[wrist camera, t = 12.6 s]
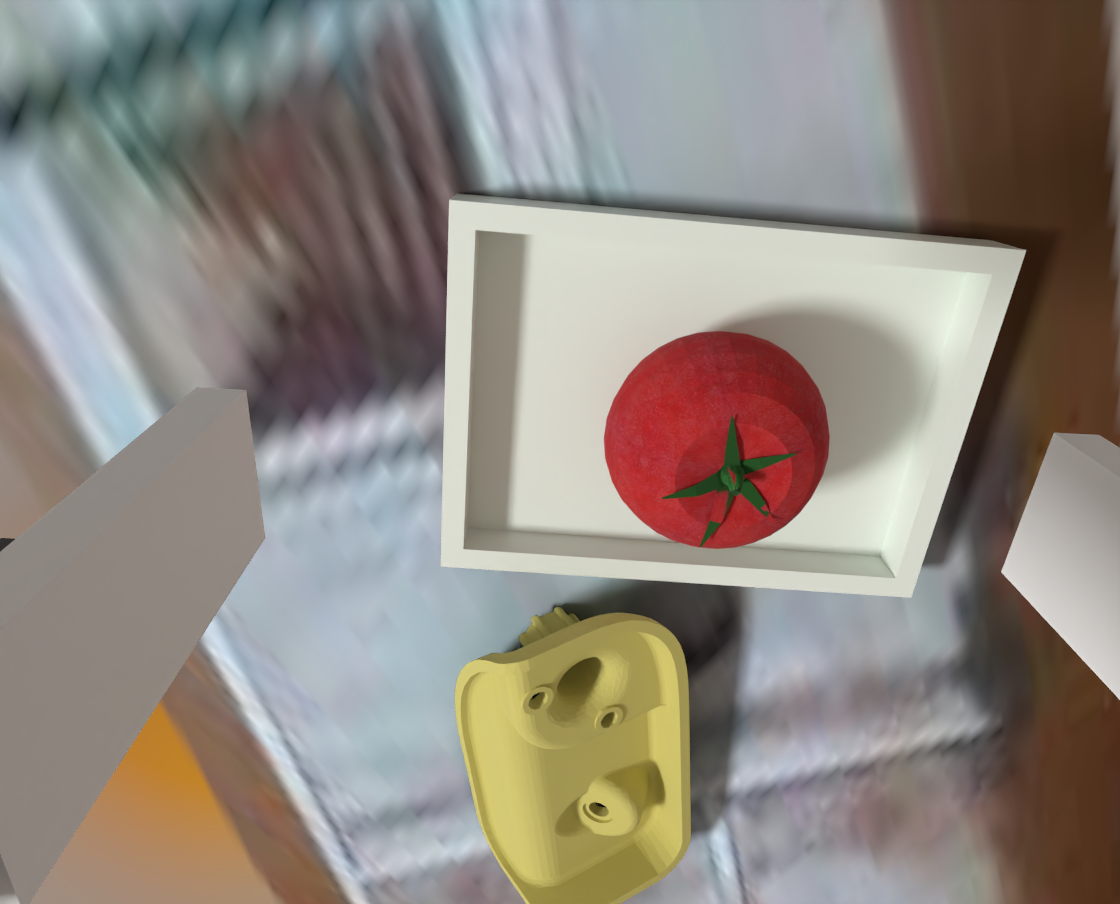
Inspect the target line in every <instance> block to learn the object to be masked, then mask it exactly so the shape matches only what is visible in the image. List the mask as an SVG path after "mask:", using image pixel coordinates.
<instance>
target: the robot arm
mask: <svg viewBox="0 0 1120 904" xmlns="http://www.w3.org/2000/svg"><path fill="white" fill-rule="evenodd" d="M264 539H265V532H264V525H263V517H262V509H261V501H260V494H259V486H258V478H257V471H256V463H255V455H254V447H253V440H252V432H251V424H250V416H249V409H248V401H247V393H246V390H235V389H216V388H196V389H195V390H194V391H192V392H191V393H190V394H189V395H188V396H186V397H185V398H184V399H183V400H182V401H180V402H179V403H178V404H177V405H176V406H174V407H173V408H172V409H171V410H170V411H168V412H167V413H166V414H165V415H164V416H162V417H161V418H160V419H159V420H158V421H156V422H155V423H154V424H153V425H152V426H150V427H149V428H148V429H147V430H146V431H144V432H143V433H142V434H141V435H140V436H138V437H137V438H136V439H135V440H134V441H132V442H131V443H130V444H129V445H128V446H126V447H125V448H124V449H123V450H122V451H120V452H119V453H118V454H117V455H116V456H114V457H113V458H112V459H111V460H110V461H108V462H107V463H106V464H105V465H104V466H102V467H101V468H100V469H99V470H98V471H96V472H95V473H94V474H93V475H92V476H90V477H89V478H88V479H87V480H86V481H84V482H83V483H82V484H81V485H80V486H78V487H77V488H76V489H75V490H74V491H72V492H71V493H70V494H69V495H68V496H66V497H65V498H64V499H63V500H62V501H60V502H59V503H58V504H57V505H56V506H54V507H53V508H52V509H51V510H50V511H48V512H47V513H46V514H45V515H44V516H42V517H41V518H40V519H39V520H38V521H36V522H35V523H34V524H33V525H32V526H30V527H29V528H28V529H27V530H26V531H25V532H23V533H22V534H21V535H20V536H18V537H17V538H16V539H8V538H7V539H6V538H1V539H0V904H29V903H30V902H31V900H32V899H33V897H34V896H35V894H36V893H37V891H38V889H39V888H40V886H41V884H42V883H43V882H44V880H45V879H46V877H47V875H48V874H49V872H50V871H51V869H52V868H53V866H54V864H55V863H56V861H57V860H58V858H59V857H60V855H61V854H62V852H63V851H64V849H65V847H66V846H67V844H68V843H69V841H70V840H71V838H72V837H73V835H74V833H75V832H76V830H77V829H78V827H79V826H80V824H81V823H82V821H83V820H84V818H85V816H86V815H87V813H88V812H89V810H90V809H91V807H92V806H93V804H94V803H95V801H96V799H97V798H98V796H99V794H100V793H101V792H102V790H103V789H104V787H105V785H106V784H107V782H108V781H109V779H110V778H111V776H112V775H113V773H114V771H115V770H116V768H117V767H118V765H119V764H120V762H121V761H122V759H123V758H124V756H125V754H126V753H127V751H128V750H129V748H130V747H131V745H132V743H133V742H134V740H135V739H136V737H137V736H138V734H139V733H140V731H141V730H142V728H143V726H144V725H145V723H146V722H147V720H148V719H149V717H150V716H151V714H152V712H153V711H154V709H155V708H156V706H157V705H158V703H159V702H160V700H161V699H162V697H163V696H164V694H165V692H166V691H167V689H168V688H169V686H170V685H171V683H172V682H173V680H174V678H175V677H176V675H177V674H178V672H179V671H180V669H181V668H182V666H183V664H184V663H185V661H186V660H187V658H188V657H189V655H190V654H191V652H192V651H193V649H194V647H195V646H196V644H197V643H198V641H199V640H200V638H201V637H202V635H203V633H204V632H205V630H206V629H207V627H208V626H209V624H210V623H211V621H212V620H213V618H214V616H215V615H216V613H217V612H218V610H219V609H220V607H221V606H222V604H223V602H224V601H225V599H226V598H227V596H228V595H229V593H230V592H231V590H232V588H233V587H234V585H235V584H236V582H237V581H238V579H239V578H240V576H241V575H242V573H243V571H244V570H245V568H246V567H247V565H248V564H249V562H250V561H251V559H252V557H253V556H254V554H255V553H256V551H257V550H258V548H259V547H260V545H261V544H262V542H263V540H264ZM1001 572H1002V573H1003V574H1004V576H1005V577H1006V578H1007V579H1008V580H1009V581H1010V582H1011V583H1012V584H1013V585H1014V586H1015V587H1016V588H1017V590H1018V591H1019V592H1020V593H1021V594H1022V595H1023V596H1024V597H1025V598H1026V599H1027V600H1028V601H1029V602H1030V604H1031V605H1032V606H1033V607H1034V608H1035V609H1036V610H1037V611H1038V612H1039V613H1040V614H1041V615H1042V616H1043V618H1044V619H1045V620H1046V621H1047V622H1048V623H1049V624H1050V625H1051V626H1052V627H1053V628H1054V629H1055V630H1056V632H1057V633H1058V634H1059V635H1060V636H1061V637H1062V638H1063V639H1064V640H1065V641H1066V642H1067V643H1068V644H1069V646H1070V647H1071V648H1072V649H1073V650H1074V651H1075V652H1076V653H1077V654H1078V655H1079V656H1080V657H1081V658H1082V660H1083V661H1084V662H1085V663H1086V664H1087V665H1088V666H1089V667H1090V668H1091V669H1092V670H1093V671H1094V672H1095V674H1096V675H1097V676H1098V677H1099V678H1100V679H1101V680H1102V681H1103V682H1104V683H1105V684H1106V685H1107V686H1108V688H1109V689H1110V690H1111V691H1112V692H1113V693H1114V694H1115V695H1116V696H1117V697H1118V698H1119V699H1120V448H1119V447H1117V446H1116V445H1114V444H1113V443H1111V442H1109V441H1108V440H1106V439H1105V438H1103V437H1101V436H1100V435H1087V434H1068V433H1054V434H1053V437H1052V439H1051V442H1050V444H1049V447H1048V450H1047V452H1046V455H1045V458H1044V460H1043V463H1042V466H1041V468H1040V471H1039V474H1038V476H1037V479H1036V482H1035V484H1034V487H1033V489H1032V492H1031V495H1030V497H1029V500H1028V503H1027V505H1026V508H1025V511H1024V513H1023V516H1022V519H1021V521H1020V524H1019V526H1018V529H1017V532H1016V534H1015V537H1014V540H1013V542H1012V545H1011V548H1010V550H1009V553H1008V556H1007V558H1006V561H1005V564H1004V566H1003V569H1002V571H1001Z"/></svg>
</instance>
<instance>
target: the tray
mask: <svg viewBox="0 0 1120 904" xmlns="http://www.w3.org/2000/svg"><path fill="white" fill-rule="evenodd" d="M1025 253H1026V250H1023V249H1020V248H1017V247H1013V246H1010V245H1006V244H1003V243H999V242H996V241H992V240H983V239H971V238H960V237H948V236H937V235H926V234H914V233H903V232H892V231H880V230H869V229H857V228H846V227H835V226H823V225H812V224H801V223H789V222H778V221H766V220H755V219H744V218H732V217H721V216H710V215H698V214H687V213H675V212H664V211H653V210H641V209H630V208H618V207H607V206H596V205H584V204H573V203H562V202H550V201H539V200H527V199H516V198H505V197H493V196H482V195H471V194H459V193H457V194H456V195H454V196H453V197H452V198H451V199H450V200H449V233H448V276H447V319H446V362H445V405H444V448H443V491H442V534H441V567H456V568H471V569H486V570H501V571H516V572H532V573H547V574H562V575H577V576H592V577H607V578H622V579H638V580H653V581H668V582H683V583H698V584H713V585H728V586H743V587H759V588H774V589H789V590H804V591H819V592H834V593H849V594H864V595H880V596H895V597H910V598H911V596H912V593H913V590H914V587H915V584H916V581H917V578H918V575H919V572H920V569H921V566H922V563H923V560H924V557H925V554H926V551H927V548H928V545H929V542H930V539H931V536H932V533H933V530H934V527H935V524H936V521H937V518H938V515H939V512H940V509H941V506H942V503H943V500H944V497H945V494H946V491H947V488H948V485H949V482H950V479H951V476H952V473H953V470H954V467H955V464H956V461H957V458H958V455H959V452H960V449H961V446H962V443H963V440H964V437H965V434H966V431H967V428H968V425H969V422H970V419H971V416H972V413H973V410H974V407H975V404H976V401H977V398H978V395H979V392H980V389H981V386H982V383H983V380H984V377H985V374H986V371H987V368H988V365H989V361H990V358H991V355H992V352H993V349H994V346H995V343H996V340H997V337H998V334H999V331H1000V328H1001V325H1002V322H1003V319H1004V316H1005V313H1006V310H1007V307H1008V304H1009V301H1010V298H1011V295H1012V292H1013V289H1014V286H1015V283H1016V280H1017V277H1018V274H1019V271H1020V268H1021V265H1022V262H1023V259H1024V256H1025ZM712 331H725V332H734V333H743V334H749V335H752V336H755V337H758V338H762V339H765V340H768V341H770V342H772V343H773V344H775V345H777V346H779V347H780V348H782V349H784V350H786V351H787V352H788V353H789V354H790V355H792V356H793V357H794V358H795V359H796V360H797V361H798V362H799V363H800V364H801V365H802V366H803V367H804V368H805V370H806V371H807V372H808V374H809V375H810V377H811V378H812V380H813V381H814V383H815V384H816V385H817V387H818V389H819V391H820V394H821V396H822V399H823V401H824V404H825V406H826V413H827V420H828V426H829V435H830V441H829V455H828V460H827V463H826V467H825V470H824V474H823V476H822V478H821V480H820V482H819V484H818V486H817V488H816V490H815V492H814V494H813V496H812V498H811V499H810V500H809V502H808V503H807V504H806V506H805V507H804V508H803V510H802V511H801V512H800V513H799V514H798V515H797V516H796V517H795V518H794V519H793V520H792V521H791V522H789V523H788V524H787V525H786V526H785V527H783V528H782V529H780V530H778V531H777V532H775V533H774V534H772V535H771V536H768V537H766V538H764V539H761V540H759V541H757V542H754V543H752V544H747V545H743V546H739V547H735V548H723V549H711V548H700V547H694V546H690V545H686V544H683V543H679V542H675V541H673V540H670V539H668V538H666V537H664V536H662V535H660V534H658V533H656V532H655V531H654V530H652V529H651V528H650V527H648V526H647V525H646V524H645V523H643V522H642V521H641V520H640V519H639V518H638V517H637V516H636V515H635V514H634V513H633V512H632V511H631V510H630V509H629V508H628V506H627V505H626V504H625V503H624V502H623V501H622V499H621V498H620V496H619V494H618V492H617V490H616V488H615V487H614V485H613V483H612V480H611V477H610V473H609V470H608V467H607V463H606V460H605V450H604V433H605V426H606V419H607V416H608V413H609V411H610V408H611V405H612V402H613V400H614V398H615V396H616V394H617V392H618V391H619V389H620V388H621V386H622V384H623V383H624V381H625V379H626V378H627V376H628V375H629V373H630V372H631V371H632V370H633V369H634V368H635V367H636V366H637V365H638V364H639V363H640V362H641V360H642V359H644V358H645V357H646V356H648V355H649V354H651V353H652V352H653V351H655V350H656V349H657V348H659V347H661V346H663V345H665V344H667V343H669V342H671V341H673V340H675V339H677V338H680V337H684V336H687V335H691V334H695V333H700V332H712Z"/></svg>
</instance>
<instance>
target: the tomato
mask: <svg viewBox="0 0 1120 904" xmlns="http://www.w3.org/2000/svg"><path fill="white" fill-rule="evenodd" d="M829 441H830V435H829V426H828V420H827V413H826V406H825V404H824V401H823V399H822V396H821V394H820V391H819V389H818V387H817V385H816V384H815V383H814V381H813V380H812V378H811V377H810V375H809V374H808V372H807V371H806V370H805V368H804V367H803V366H802V365H801V364H800V363H799V362H798V361H797V360H796V359H795V358H794V357H793V356H792V355H790V354H789V353H788V352H787V351H786V350H784V349H782V348H780V347H779V346H777V345H775V344H773V343H772V342H770V341H768V340H765V339H762V338H758V337H755V336H752V335H749V334H743V333H734V332H725V331H712V332H700V333H695V334H691V335H687V336H684V337H680V338H677V339H675V340H673V341H671V342H669V343H667V344H665V345H663V346H661V347H659V348H657V349H656V350H655V351H653V352H652V353H651V354H649V355H648V356H646V357H645V358H644V359H642V360H641V362H640V363H639V364H638V365H637V366H636V367H635V368H634V369H633V370H632V371H631V372H630V373H629V375H628V376H627V378H626V379H625V381H624V383H623V384H622V386H621V388H620V389H619V391H618V392H617V394H616V396H615V398H614V400H613V402H612V405H611V408H610V411H609V413H608V416H607V419H606V426H605V433H604V450H605V460H606V463H607V467H608V470H609V473H610V477H611V480H612V483H613V485H614V487H615V488H616V490H617V492H618V494H619V496H620V498H621V499H622V501H623V502H624V503H625V504H626V505H627V506H628V508H629V509H630V510H631V511H632V512H633V513H634V514H635V515H636V516H637V517H638V518H639V519H640V520H641V521H642V522H643V523H645V524H646V525H647V526H648V527H650V528H651V529H652V530H654V531H655V532H656V533H658V534H660V535H662V536H664V537H666V538H668V539H670V540H673V541H675V542H679V543H683V544H686V545H690V546H694V547H700V548H711V549H723V548H735V547H739V546H743V545H747V544H752V543H754V542H757V541H759V540H761V539H764V538H766V537H768V536H771V535H772V534H774V533H775V532H777V531H778V530H780V529H782V528H783V527H785V526H786V525H787V524H788V523H789V522H791V521H792V520H793V519H794V518H795V517H796V516H797V515H798V514H799V513H800V512H801V511H802V510H803V508H804V507H805V506H806V504H807V503H808V502H809V500H810V499H811V498H812V496H813V494H814V492H815V490H816V488H817V486H818V484H819V482H820V480H821V478H822V476H823V474H824V470H825V467H826V463H827V460H828V455H829Z"/></svg>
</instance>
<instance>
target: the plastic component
mask: <svg viewBox="0 0 1120 904" xmlns="http://www.w3.org/2000/svg"><path fill="white" fill-rule="evenodd" d="M531 621H532V624H531V625H530V627H529V628H528V630H527V631H526V632H525V633H522V634H520V636H519V641H520V642H521V644H522V645H523V647H522V648H520V649H517V650H515V651H511V652H506V653H491V654H488V655H486V656H483V657H481V658H478V659H476V660H474V661H471V662H469V663H468V664H467V665H465V666H464V668H463V669H462V670H461V672H460V674H459V676H458V679H457V684H456V689H455V710H456V719H457V726H458V732H459V737H460V741H461V746H462V750H463V754H464V759H465V763H466V768H467V772H468V777H469V781H470V786H471V790H472V795H473V799H474V803H475V808H476V812H477V817H478V820H479V823H480V826H481V828H482V831H483V833H484V835H485V838H486V840H487V842H488V844H489V846H490V848H491V850H492V852H493V854H494V855H495V857H496V859H497V861H498V862H499V864H500V866H501V867H502V869H503V871H504V872H505V873H506V875H507V876H508V878H509V879H510V881H511V882H512V883H513V885H514V886H515V888H516V889H517V891H518V892H519V893H520V895H521V896H522V898H523V899H524V901H525V902H526V903H527V904H620V903H622V902H624V901H625V900H627V899H629V898H631V897H632V896H634V895H636V894H637V893H639V892H641V891H643V890H644V889H646V888H648V887H650V886H651V885H653V884H655V883H656V882H658V881H659V880H661V879H662V878H663V877H665V876H666V875H667V874H668V873H669V872H670V871H672V870H673V869H674V868H675V867H676V865H677V864H678V863H679V862H680V860H681V859H682V858H683V856H684V854H685V853H686V851H687V849H688V846H689V843H690V839H691V802H690V724H689V688H688V675H687V667H686V662H685V656H684V653H683V650H682V648H681V645H680V643H679V642H678V640H677V639H676V637H675V636H674V635H673V634H672V633H671V632H670V631H669V630H668V629H667V628H666V627H664V626H663V625H661V624H660V623H658V622H657V621H655V620H653V619H651V618H648V617H645V616H641V615H636V614H630V613H608V614H602V615H598V616H594V617H591V618H588V619H585V620H582V621H580V620H579V619H578V618H577V617H576V616H575V614H574V613H570V614H569V615H567V614H566V613H565V612H564V610H563V609H562V608H561V607H556V608H555V609H554V611H553V612H551V613H547V614H545V615H543V616H541V617H538V615H535V616H534V617H532V619H531ZM539 692H540V693H539ZM537 693H539V695H537V696H536V697H535V698H533V699H531V698H532V696H533V695H535V694H537ZM530 699H531V700H530ZM594 802H596V803H601V804H602V805H604V806H606V807H600V806H598V805H596V804H595V803H594Z"/></svg>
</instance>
